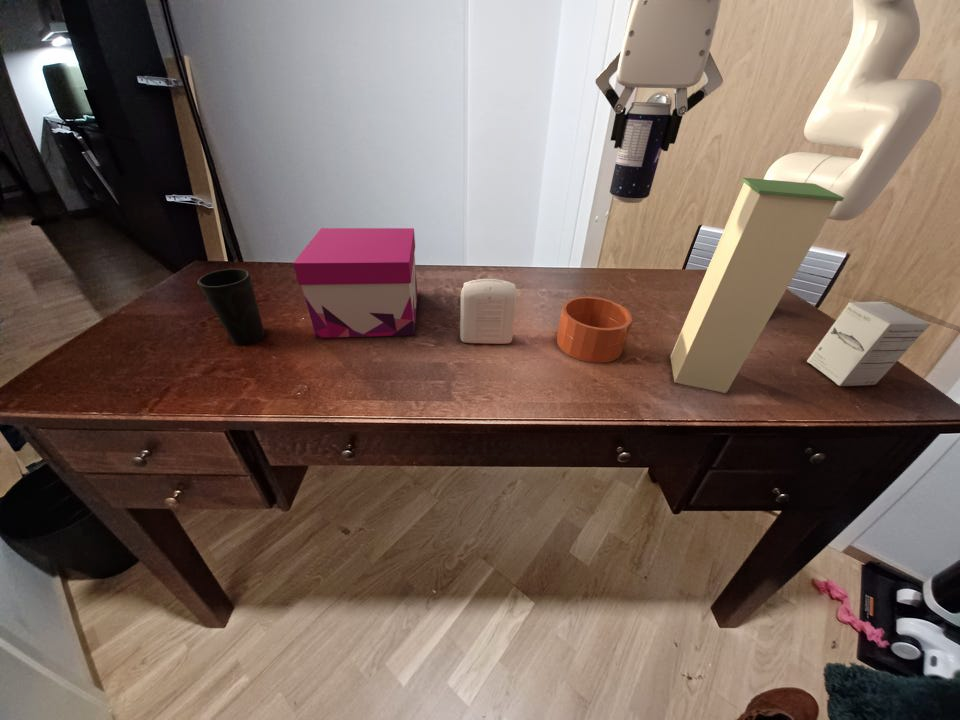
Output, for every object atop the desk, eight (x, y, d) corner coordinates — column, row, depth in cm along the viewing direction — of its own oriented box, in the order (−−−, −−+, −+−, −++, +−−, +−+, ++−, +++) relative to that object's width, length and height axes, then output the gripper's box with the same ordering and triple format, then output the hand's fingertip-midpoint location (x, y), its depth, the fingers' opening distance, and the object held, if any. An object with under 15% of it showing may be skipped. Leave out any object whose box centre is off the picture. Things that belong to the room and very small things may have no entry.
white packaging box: (804, 361, 68) (846, 300, 61) (840, 360, 69) (886, 300, 61) (838, 387, 62) (890, 323, 55) (877, 386, 63) (934, 323, 55)
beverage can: (650, 205, 53) (678, 104, 46) (609, 202, 54) (631, 103, 46) (644, 196, 57) (669, 102, 50) (606, 194, 58) (626, 101, 51)
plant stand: (717, 365, 66) (811, 187, 48) (726, 393, 60) (838, 200, 42) (670, 356, 68) (744, 181, 50) (674, 382, 62) (760, 193, 44)
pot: (600, 324, 77) (608, 293, 73) (635, 357, 68) (646, 325, 63) (546, 330, 74) (551, 300, 70) (575, 367, 65) (582, 333, 61)
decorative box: (415, 336, 71) (408, 262, 62) (314, 339, 69) (292, 263, 60) (418, 292, 86) (413, 228, 77) (335, 294, 84) (321, 228, 75)
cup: (279, 330, 71) (259, 272, 64) (248, 351, 65) (221, 290, 58) (248, 323, 73) (225, 265, 66) (215, 342, 67) (186, 282, 60)
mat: (813, 186, 49) (815, 183, 48) (842, 201, 42) (844, 197, 42) (741, 180, 51) (742, 177, 50) (758, 193, 44) (759, 190, 44)
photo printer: (511, 333, 73) (517, 275, 66) (513, 345, 70) (520, 285, 62) (460, 333, 73) (460, 274, 65) (460, 345, 69) (459, 284, 62)
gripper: (764, -35, 41) (702, 148, 52) (607, -26, 45) (580, 142, 56) (785, -55, 36) (711, 156, 46) (603, -43, 40) (575, 148, 51)
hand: (640, 147), depth 51 cm, fingers closed on beverage can, 5 cm apart
